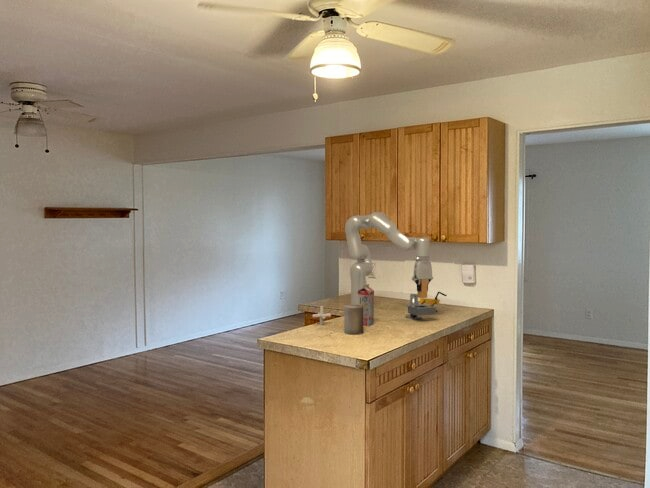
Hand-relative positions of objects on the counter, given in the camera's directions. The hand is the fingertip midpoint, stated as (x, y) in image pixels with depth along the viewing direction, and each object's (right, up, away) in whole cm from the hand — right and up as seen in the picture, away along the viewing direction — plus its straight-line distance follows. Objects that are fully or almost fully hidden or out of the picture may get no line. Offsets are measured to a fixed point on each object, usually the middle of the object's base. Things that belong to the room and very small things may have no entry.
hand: (422, 290), depth 288 cm
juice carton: (-34, -17, -13) cm, 40 cm away
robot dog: (+12, -16, +28) cm, 34 cm away
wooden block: (0, -4, 0) cm, 4 cm away
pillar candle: (-41, -18, -33) cm, 56 cm away
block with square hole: (-2, -17, +4) cm, 18 cm away
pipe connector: (-58, -17, -14) cm, 62 cm away
